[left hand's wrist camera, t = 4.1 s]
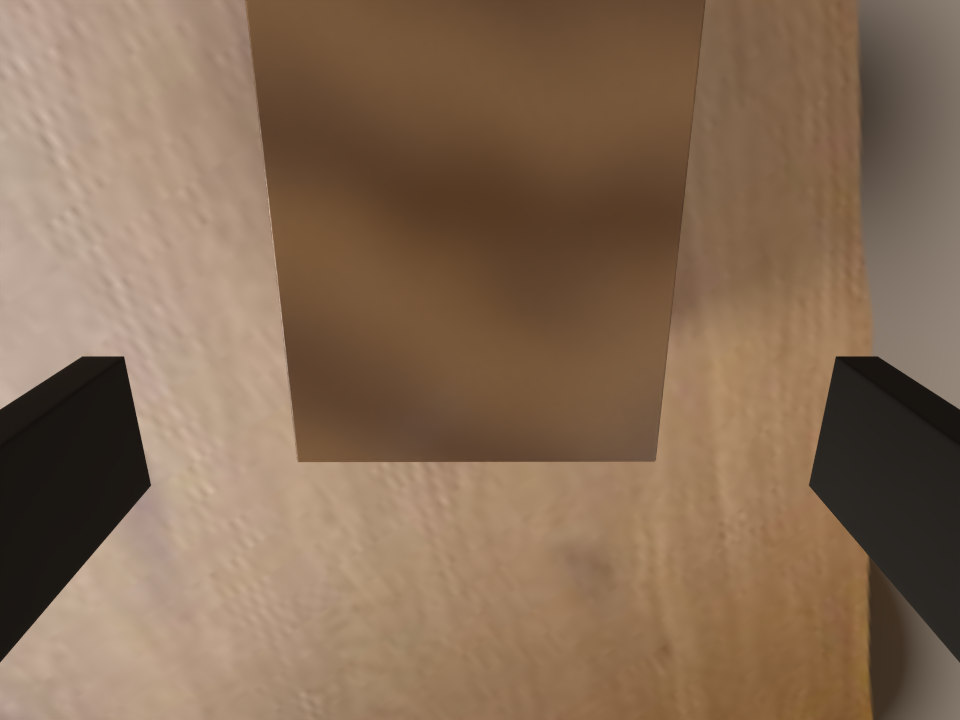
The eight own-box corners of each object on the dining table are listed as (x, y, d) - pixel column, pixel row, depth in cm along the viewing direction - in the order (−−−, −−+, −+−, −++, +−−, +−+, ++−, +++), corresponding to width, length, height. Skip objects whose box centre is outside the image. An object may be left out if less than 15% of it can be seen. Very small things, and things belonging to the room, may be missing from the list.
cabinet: (321, -101, 24) (217, -235, 14) (630, -100, 24) (731, -235, 14) (354, 348, 30) (296, 462, 21) (599, 348, 30) (656, 462, 21)
